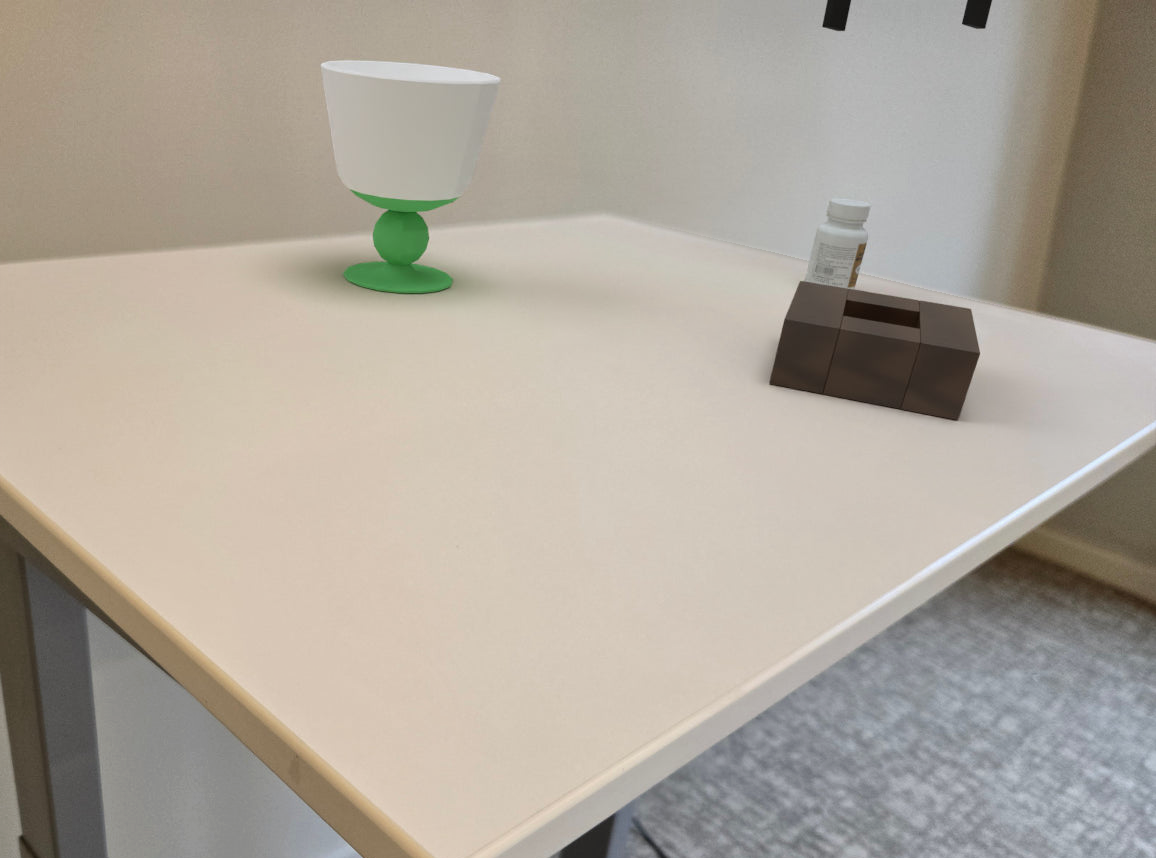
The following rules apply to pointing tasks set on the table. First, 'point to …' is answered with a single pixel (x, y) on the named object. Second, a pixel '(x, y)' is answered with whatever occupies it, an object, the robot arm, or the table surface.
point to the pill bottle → (839, 244)
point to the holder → (877, 349)
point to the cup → (405, 154)
